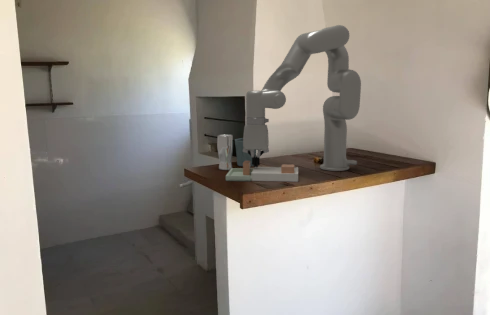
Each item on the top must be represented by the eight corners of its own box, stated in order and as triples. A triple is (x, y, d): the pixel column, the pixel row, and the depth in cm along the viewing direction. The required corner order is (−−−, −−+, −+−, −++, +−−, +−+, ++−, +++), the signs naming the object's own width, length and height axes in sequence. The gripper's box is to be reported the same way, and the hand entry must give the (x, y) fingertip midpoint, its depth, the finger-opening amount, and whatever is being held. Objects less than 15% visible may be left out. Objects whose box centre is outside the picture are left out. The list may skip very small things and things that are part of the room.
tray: (254, 173, 177) (254, 168, 177) (250, 181, 163) (250, 176, 162) (231, 172, 178) (231, 168, 178) (225, 180, 164) (225, 175, 163)
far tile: (250, 160, 175) (244, 160, 175) (249, 163, 170) (243, 162, 170) (250, 172, 176) (244, 172, 176) (249, 175, 171) (243, 175, 171)
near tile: (294, 170, 167) (294, 164, 166) (294, 173, 162) (294, 167, 162) (281, 170, 167) (281, 164, 167) (281, 173, 163) (281, 166, 162)
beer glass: (221, 170, 183) (221, 136, 180) (215, 168, 189) (214, 134, 186) (236, 169, 186) (235, 135, 183) (229, 166, 192) (228, 133, 189)
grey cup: (259, 166, 192) (259, 140, 190) (237, 167, 190) (237, 141, 188) (254, 162, 202) (253, 137, 200) (233, 163, 200) (233, 138, 198)
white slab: (298, 174, 174) (298, 167, 173) (298, 181, 161) (298, 174, 161) (254, 173, 176) (254, 166, 176) (251, 180, 163) (251, 173, 163)
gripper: (274, 121, 172) (274, 165, 175) (238, 120, 173) (238, 164, 176) (273, 122, 164) (273, 168, 167) (236, 122, 166) (236, 168, 169)
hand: (255, 166), depth 172 cm, fingers closed
